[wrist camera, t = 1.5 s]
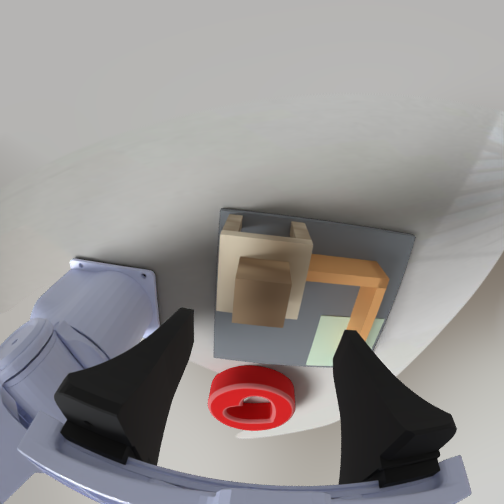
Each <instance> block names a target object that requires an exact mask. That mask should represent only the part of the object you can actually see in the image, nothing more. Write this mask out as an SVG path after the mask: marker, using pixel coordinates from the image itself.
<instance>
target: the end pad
mask: <svg viewBox="0 0 504 504" xmlns="http://www.w3.org/2000/svg"><path fill="white" fill-rule="evenodd" d="M350 318H351V317H343V316H328V315H321V317H320V321H319V324H318V327H317V331H316V334H315V337H314V341H313V344H312V347H311V350H310V353H309V356H308V359H307V362H306V365H313V366H333V357H334V354H335V352H336V350H337V347H338V345H339V342H340V340H341V337H342V335H343V332H344V330H346V329H347V326H348V323H349V321H350ZM384 320H385V319H381V318H375V320H374V322H373V325H372V327H371V330H370V332H369V335H368V337H367V339H366V343H367V344H368V346H369V347H370V348H371V349H372V347H373V345H374V343H375V341H376V338H377V336H378V334H379V331H380V329H381V327H382V324H383V322H384Z"/></svg>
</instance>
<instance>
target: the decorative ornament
mask: <svg viewBox="0 0 504 504" xmlns="http://www.w3.org/2000/svg"><path fill="white" fill-rule="evenodd" d="M251 396H259V397H263V398H266V399H268V400H269V401H270V402H269V403H243V401H244V399H245V398H247V397H251ZM208 408H209V410H210V412H211V414H212V415H213V416H214V417H215V418H216V419H217V420H218V421H220V422H222V423H223V424H225V425H227V426H230V427H234V428H237V429H242V430H249V431H259V430H267V429H272V428H275V427H278V426H281V425H282V424H284V423H286V422H287V421H288V420H289V419H290V418H291V417H292V416H293V414H294V412H295V394H294V386H293V384H292V382H291V380H290V379H289V378H288V377H286V376H285V375H283V374H282V373H280V372H278V371H276V370H273V369H270V368H266V367H261V366H252V365H246V366H238V367H233V368H230V369H227V370H225V371H223V372H221V373H218V374H217V375H216V376H215V377H214V379H213V381H212V385H211V389H210V395H209V399H208Z"/></svg>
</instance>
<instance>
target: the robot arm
mask: <svg viewBox="0 0 504 504" xmlns="http://www.w3.org/2000/svg"><path fill="white" fill-rule="evenodd" d="M81 264H82V265H83V266H82V265H81ZM70 266H71V270H69V271H68V272H67V273H66V274H65V275H64V276H63V277H61V278H60V279H59V280H58V281H57V282H56V283H55V284H54V285H52V286H51V287H50V288H49V289H48V290H47V291H46V292H45V293H44V294H43V295H42V296H41V297H40V298H39V299H38V300H37V302H36V304H35V305H34V308H33V310H32V313H31V318H30V320H29V321H28V322H27V323H25V324H23V325H22V326H21V327H19V328H18V329H17V330H15V331H14V332H13V333H12V334H11V335H10V336H9V337H8V338H7V339H6V340H5V341H4V342H3V343H2V344H1V345H0V504H3V503H4V502H5V501H6V500H7V499H8V498H9V497H10V496H11V495H12V494H13V493H14V492H15V491H16V490H17V489H18V488H20V487H21V486H22V485H23V484H24V483H25V482H26V481H27V480H28V479H29V478H30V477H31V476H32V475H33V474H34V473H46V474H47V475H49V476H50V477H52V478H54V479H55V480H58V481H59V482H61V483H62V484H64V485H66V486H68V487H69V488H71V489H73V490H75V491H77V492H79V493H81V494H83V495H84V496H86V497H88V498H90V499H92V500H94V501H97V502H99V503H101V504H455V503H457V502H459V501H461V500H463V499H464V498H466V497H468V496H470V495H471V489H470V485H469V482H468V478H467V474H466V471H465V467H464V464H463V461H462V457H461V455H458V456H455V457H452V458H449V459H446V460H443V461H442V462H439V463H438V460H437V458H438V457H439V456H440V452H439V449H440V448H441V447H443V446H444V445H445V444H446V443H447V442H448V441H449V440H450V439H451V438H452V437H453V436H454V434H455V433H456V430H457V428H456V426H455V423H454V420H453V418H452V415H451V414H449V413H447V412H445V411H443V410H441V409H439V408H437V407H435V406H433V405H432V404H430V403H428V402H427V401H425V400H424V399H422V398H421V397H419V396H418V395H417V394H415V393H414V392H413V391H411V390H410V389H409V388H408V387H406V386H405V385H404V384H403V383H402V382H401V381H400V380H399V379H397V378H396V377H395V376H394V375H393V374H392V373H391V371H390V370H389V369H388V368H387V367H386V366H385V365H384V364H383V363H382V362H381V360H380V359H379V358H378V357H377V356H376V354H375V353H374V352H373V351H372V349H371V348H370V347H369V346H368V344H367V343H366V342H365V341H364V339H363V338H362V337H361V336H360V334H359V333H358V332H357V331H356V330H344V332H343V335H342V337H341V340H340V342H339V345H338V347H337V350H336V352H335V354H334V357H333V377H334V383H335V388H336V394H337V399H338V405H339V411H340V418H341V437H342V438H341V467H340V478H339V485H327V486H275V485H259V484H247V483H239V482H232V481H224V480H218V479H212V478H206V477H201V476H196V475H191V474H187V473H182V472H178V471H174V470H170V469H166V468H162V467H159V466H157V462H158V457H159V452H160V447H161V442H162V438H163V433H164V429H165V425H166V421H167V417H168V414H169V410H170V406H171V403H172V399H173V397H174V394H175V392H176V389H177V387H178V384H179V382H180V380H181V377H182V375H183V373H184V370H185V367H186V365H187V363H188V360H189V357H190V354H191V350H192V347H193V343H194V310H191V309H186V308H180V309H179V310H178V311H177V312H175V313H174V314H173V315H172V316H171V317H170V318H169V319H168V320H167V321H166V322H165V323H164V324H162V325H161V326H160V322H159V313H158V303H157V292H156V279H155V274H154V272H153V271H151V270H146V269H139V268H132V267H126V266H119V265H113V264H106V263H100V262H94V261H88V260H82V259H76V258H73V259H72V260H71V261H70ZM143 274H145V275H146V277H145V276H143ZM142 338H145V339H144V340H142V341H141V339H142ZM140 341H141V342H140Z"/></svg>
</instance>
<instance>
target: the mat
mask: <svg viewBox="0 0 504 504" xmlns="http://www.w3.org/2000/svg"><path fill="white" fill-rule="evenodd" d="M229 214H234V215H243V219H242V229H241V232H247V233H256V234H264V235H273V236H282V237H290V228H291V221H295V222H302V223H305V225H306V227H307V230H308V232H309V235H310V238H311V240H312V243H313V249H312V254H319V255H327V256H336V257H344V258H353V259H361V260H369V261H377V263H378V264H379V265H380V267H381V268H382V269H383V271H384V272H385V273H386V275H387V276H388V278H389V282H388V285H387V288H386V291H385V294H384V296H383V299H382V302H381V304H380V307H379V310H378V312H377V315H376V317H375V318H381V319H385V320H384V322H383V324H382V327H381V329H380V331H379V334H378V336H377V338H376V341H375V343H374V345H373V347H372V351H373V349H374V347H375V345H376V343H377V341H378V338H379V336H380V334H381V332H382V329H383V327H384V325H385V322H386V320H387V318H388V315H389V313H390V310H391V308H392V305H393V303H394V300H395V297H396V295H397V292H398V289H399V287H400V284H401V281H402V278H403V275H404V272H405V269H406V266H407V263H408V260H409V257H410V254H411V251H412V248H413V244H414V241H415V236H414V235H413V234H407V233H401V232H395V231H389V230H383V229H377V228H371V227H364V226H358V225H351V224H345V223H338V222H331V221H324V220H316V219H309V218H301V217H294V216H286V215H277V214H269V213H260V212H251V211H242V210H233V209H223V208H221V210H220V221H219V237H218V254H217V274H216V296H215V324H214V358H220V359H228V360H236V361H245V362H254V363H264V364H276V365H289V366H307V367H333V366H313V365H306V362H307V359H308V356H309V353H310V350H311V347H312V344H313V341H314V337H315V334H316V331H317V327H318V324H319V321H320V317H321V315H328V316H343V317H350V316H351V314H352V311H353V308H354V305H355V302H356V299H357V296H358V292H359V289H360V286H353V285H342V284H332V283H321V282H311V281H306V283H305V287H304V292H303V296H302V301H301V305H300V309H299V314H298V318H297V320H296V319H285V321H284V326H283V328H277V327H266V326H257V325H248V324H239V323H232V313H230V312H222V311H216V304H217V282H218V263H219V245H220V234H221V231H222V229H223V227H224V225H225V222H226V220H227V218H228V216H229Z"/></svg>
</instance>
